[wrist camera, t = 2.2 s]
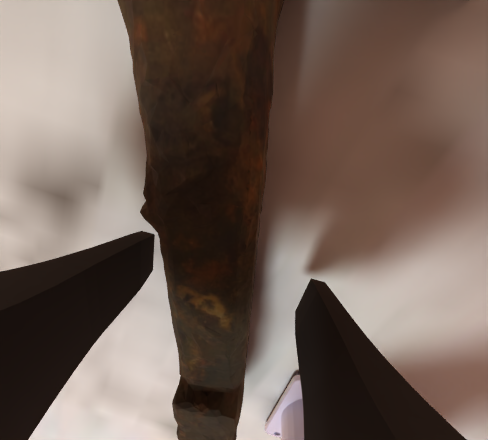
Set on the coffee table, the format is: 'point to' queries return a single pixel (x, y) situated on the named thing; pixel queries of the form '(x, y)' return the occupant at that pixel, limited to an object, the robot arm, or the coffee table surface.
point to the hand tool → (205, 183)
